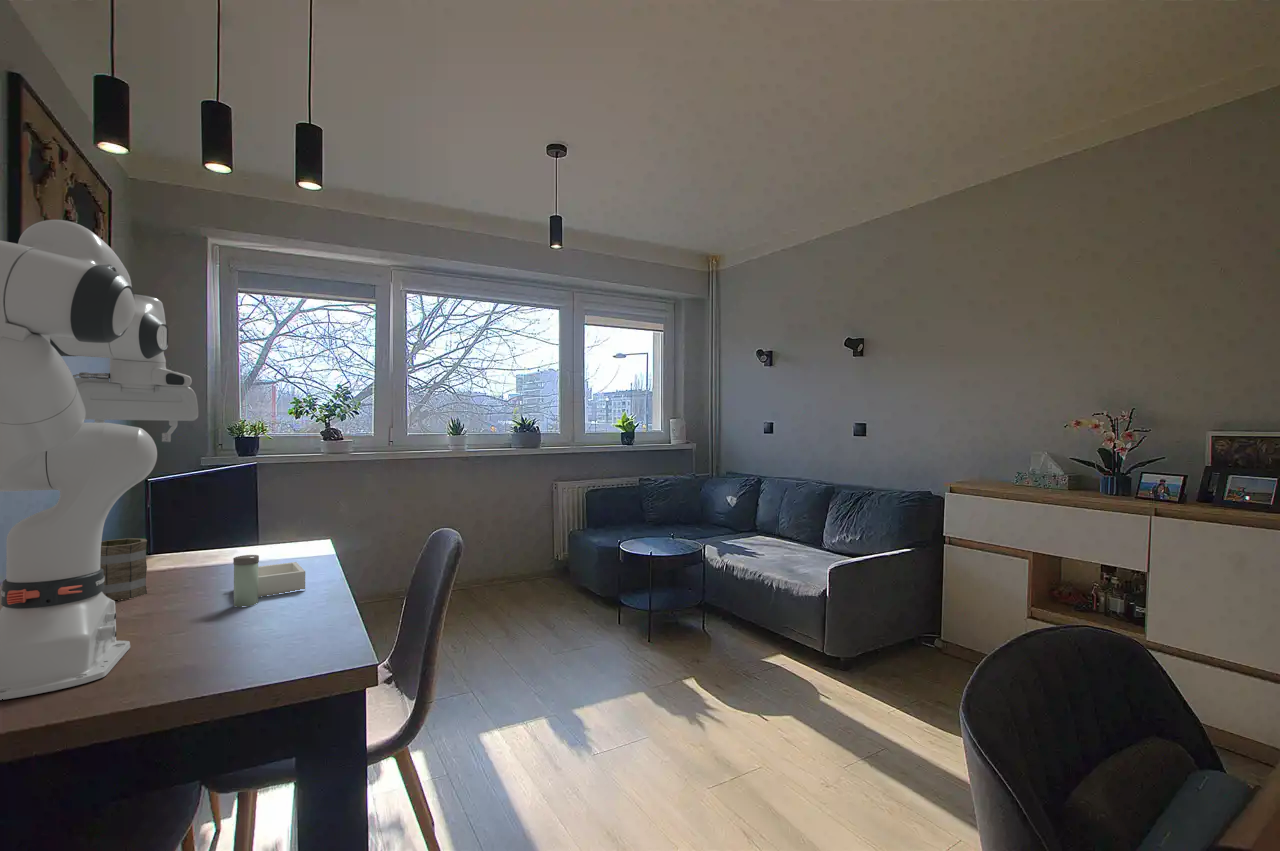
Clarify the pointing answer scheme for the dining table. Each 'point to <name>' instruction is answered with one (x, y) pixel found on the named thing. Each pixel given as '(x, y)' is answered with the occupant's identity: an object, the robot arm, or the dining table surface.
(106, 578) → the mug
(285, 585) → the bin
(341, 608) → the dining table surface
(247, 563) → the spice jar
